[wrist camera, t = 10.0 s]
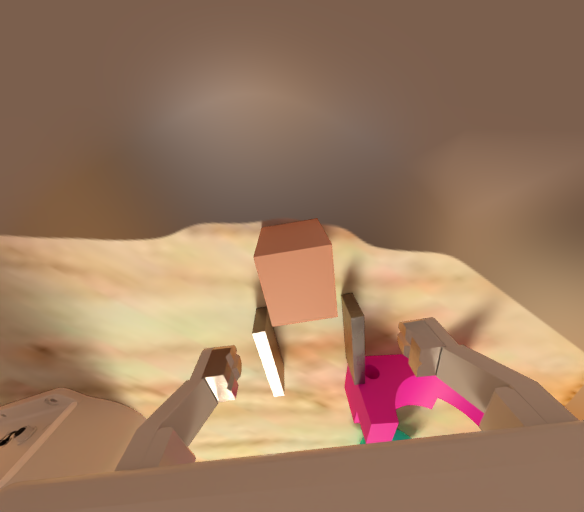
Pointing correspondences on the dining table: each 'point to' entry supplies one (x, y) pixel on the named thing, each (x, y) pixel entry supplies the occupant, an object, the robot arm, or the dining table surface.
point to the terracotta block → (296, 272)
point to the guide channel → (271, 352)
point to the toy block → (396, 396)
